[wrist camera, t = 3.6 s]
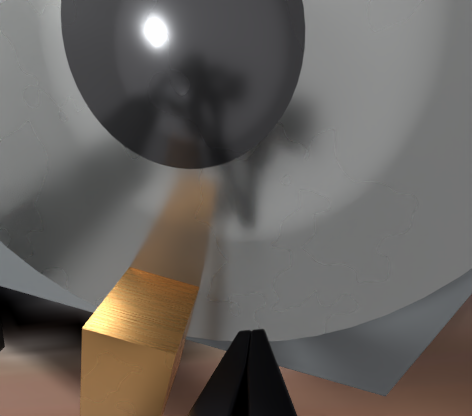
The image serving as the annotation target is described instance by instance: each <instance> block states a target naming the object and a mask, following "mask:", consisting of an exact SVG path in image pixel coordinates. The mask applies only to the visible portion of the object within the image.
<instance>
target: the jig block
mask: <svg viewBox="0 0 472 416" xmlns="http://www.w3.org/2000/svg"><path fill="white" fill-rule="evenodd" d="M0 286H2V287H6V288H9V289H13V290H16V291H20V292H23V293H27V294H30V295H33V296H37V297H40V298H44V299H47V300H51V301H54V302H58V303H61V304H65V305H68V306H72V307H75V308H79V309H82V310H86V311H89V312H93V313H94V312H95V311H96V309H97V308H98V307H97V306H95V305H93V304H91V303H89V302H87V301H85V300H83V299H82V298H80V297H78V296H76V295H74V294H73V293H71V292H69V291H67V290H65V289H64V288H62V287H61V286H59V285H58V284H56V283H55V282H53V281H52V280H50V279H49V278H47V277H46V276H44V275H43V274H41V273H40V272H38V271H37V270H35V269H34V268H33V267H31V266H30V265H29V264H27V263H26V262H25V261H24V260H22V259H21V258H20V257H19V256H17V255H16V254H15V253H14V252H12V251H11V250H10V249H9V248H7V247H6V246H5V245H4V244H3V243H2V242H1V241H0ZM471 294H472V269H470V270H469V271H467V272H466V273H465V274H463V275H462V276H460V277H459V278H457V279H455V280H453V281H452V282H450V283H448V284H447V285H445V286H443V287H441V288H440V289H438V290H436V291H435V292H433V293H431V294H430V295H428V296H426V297H424V298H422V299H420V300H418V301H416V302H414V303H412V304H409V305H407V306H405V307H403V308H401V309H399V310H396V311H394V312H392V313H390V314H388V315H385V316H382V317H380V318H377V319H374V320H371V321H368V322H365V323H362V324H359V325H357V326H354V327H351V328H347V329H342V330H338V331H334V332H330V333H326V334H322V335H318V336H312V337H305V338H298V339H291V340H284V341H269V343H270V345H271V348H272V351H273V353H274V356H275V359H276V361H277V364H278V366H281V367H285V368H288V369H292V370H295V371H299V372H302V373H306V374H309V375H313V376H316V377H320V378H323V379H327V380H330V381H334V382H337V383H341V384H344V385H348V386H351V387H355V388H358V389H361V390H365V391H368V392H372V393H375V394H379V395H382V396H386V395H387V394H388V393H389V392H390V390H391V389H392V388H393V387H394V386H395V384H396V383H397V382H398V381H399V380H400V378H401V377H402V376H403V375H404V374H405V372H406V371H407V370H408V369H409V368H410V367H411V365H412V364H413V363H414V362H415V361H416V359H417V358H418V357H419V356H420V355H421V353H422V352H423V351H424V350H425V349H426V347H427V346H428V345H429V344H430V343H431V341H432V340H433V339H434V338H435V337H436V335H437V334H438V333H439V332H440V331H441V330H442V328H443V327H444V326H445V325H446V324H447V322H448V321H449V320H450V319H451V318H452V316H453V315H454V314H455V313H456V312H457V310H458V309H459V308H460V307H461V306H462V304H463V303H464V302H465V301H466V300H467V299H468V297H469V296H470V295H471ZM186 339H187V340H191V341H194V342H197V343H201V344H204V345H208V346H211V347H215V348H218V349H222V350H225V351H227V350H228V348H229V346H230V345H231V343H232V341H216V340H209V339H202V338H195V337H188V336H186Z"/></svg>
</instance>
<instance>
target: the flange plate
mask: <svg viewBox="0 0 472 416" xmlns="http://www.w3.org/2000/svg"><path fill="white" fill-rule="evenodd" d="M0 241H1V242H2V243H3V244H4V245H5V246H6V247H7V248H9V249H10V250H11V251H12V252H14V253H15V254H16V255H17V256H19V257H20V258H21V259H22V260H24V261H25V262H26V263H27V264H29V265H30V266H31V267H33V268H34V269H35V270H37V271H38V272H40V273H41V274H43V275H44V276H46V277H47V278H49V279H50V280H52V281H53V282H55V283H56V284H58V285H59V286H61V287H62V288H64V289H65V290H67V291H69V292H71V293H73V294H74V295H76V296H78V297H80V298H82V299H83V300H85V301H87V302H89V303H91V304H93V305H95V306H97V307H98V308H97V309H96V311H95V312H94V313H93V315H92V316H91V317H90V319H89V320H88V321H87V322H86V324H85V325H84V326H83V328H82V352H81V393H80V416H162V415H163V412H164V409H165V406H166V403H167V400H168V397H169V394H170V391H171V387H172V384H173V381H174V378H175V375H176V372H177V369H178V366H179V363H180V359H181V355H182V352H183V348H184V344H185V340H186V336H188V337H195V338H202V339H209V340H216V341H233V340H234V338H235V336H236V335H237V333H238V332H239V331H241V330H251V331H252V330H254V329H264V330H265V332H266V335H267V337H268V340H269V341H284V340H291V339H298V338H305V337H312V336H318V335H322V334H326V333H330V332H334V331H338V330H342V329H347V328H351V327H354V326H357V325H359V324H362V323H365V322H368V321H371V320H374V319H377V318H380V317H382V316H385V315H388V314H390V313H392V312H394V311H396V310H399V309H401V308H403V307H405V306H407V305H409V304H412V303H414V302H416V301H418V300H420V299H422V298H424V297H426V296H428V295H430V294H431V293H433V292H435V291H436V290H438V289H440V288H441V287H443V286H445V285H447V284H448V283H450V282H452V281H453V280H455V279H457V278H459V277H460V276H462V275H463V274H465V273H466V272H467V271H469V270H470V269H472V0H0Z"/></svg>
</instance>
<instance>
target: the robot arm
mask: <svg viewBox="0 0 472 416" xmlns="http://www.w3.org/2000/svg"><path fill="white" fill-rule="evenodd" d="M4 347H5V344H4V338H3V331H2V325H1V319H0V351H1V350H2V349H3V348H4ZM188 416H297V414H296V411H295V409H294V406H293V403H292V401H291V398H290V396H289V393H288V390H287V388H286V385H285V382H284V380H283V377H282V374H281V372H280V369H279V366H278V364H277V361H276V359H275V356H274V353H273V351H272V348H271V345H270V343H269V340H268V337H267V335H266V332H265V330H264V329H254V330H252V331H251V330H241V331H239V332H238V333H237V335H236V336H235V338H234V340H233V341H232V343H231V345H230V346H229V348H228V350H227V351H226V353H225V355H224V356H223V358H222V360H221V361H220V363H219V365H218V366H217V368H216V369H215V371H214V373H213V374H212V376H211V378H210V379H209V381H208V383H207V384H206V386H205V388H204V389H203V391H202V393H201V394H200V396H199V398H198V399H197V401H196V403H195V404H194V406H193V407H192V409H191V411H190V412H189V414H188Z"/></svg>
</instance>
